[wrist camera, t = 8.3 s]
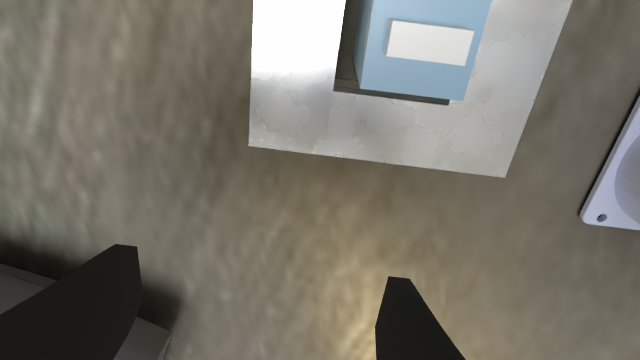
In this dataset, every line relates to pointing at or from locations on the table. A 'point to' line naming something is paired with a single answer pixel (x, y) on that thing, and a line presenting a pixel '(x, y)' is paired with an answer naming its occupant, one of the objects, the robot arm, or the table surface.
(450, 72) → the plug
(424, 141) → the grey socket board
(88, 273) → the robot arm
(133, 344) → the bluetooth speaker
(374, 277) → the table surface
